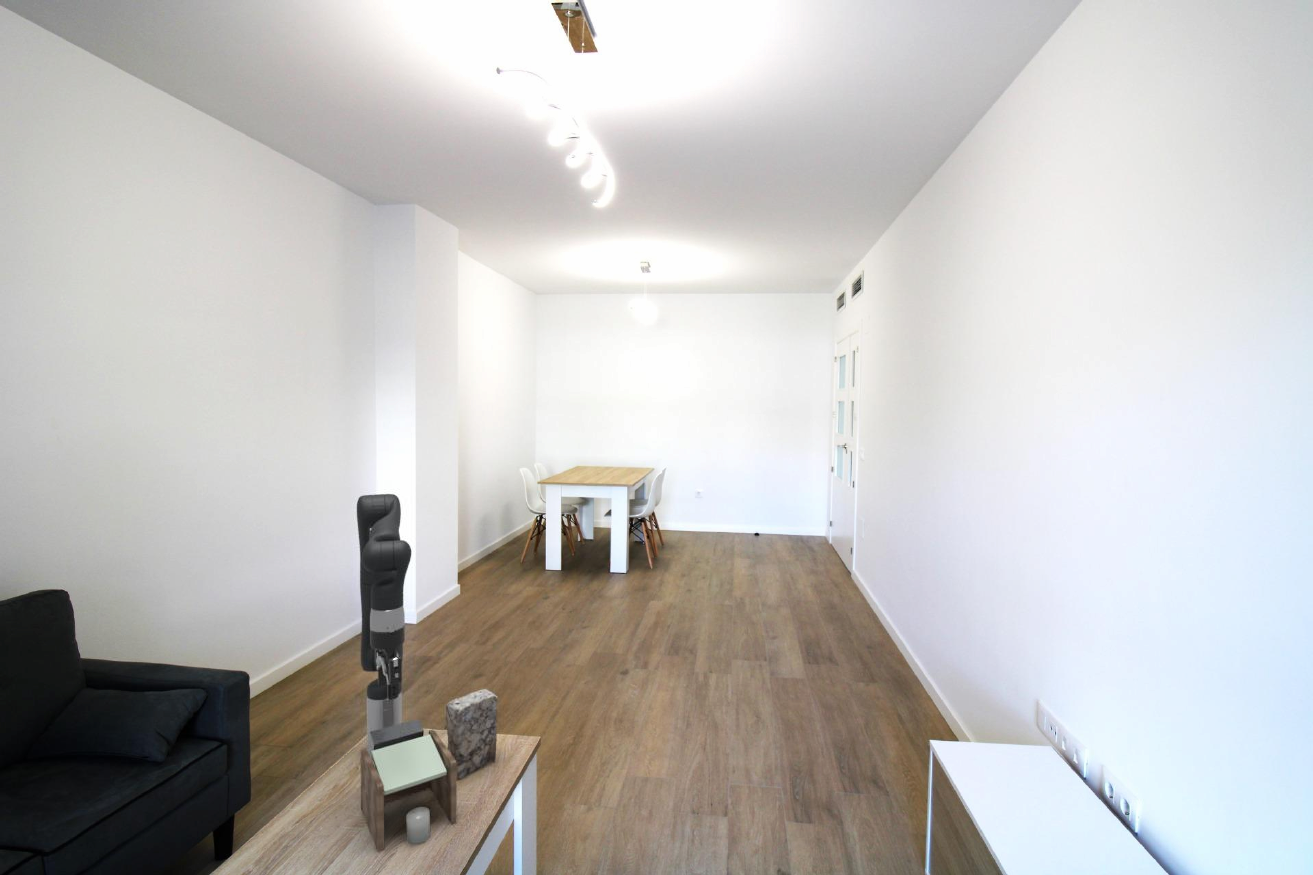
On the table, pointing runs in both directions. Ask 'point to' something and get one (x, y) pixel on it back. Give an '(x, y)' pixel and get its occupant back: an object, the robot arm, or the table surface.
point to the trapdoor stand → (405, 791)
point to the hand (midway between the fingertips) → (387, 691)
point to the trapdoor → (405, 756)
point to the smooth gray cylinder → (418, 825)
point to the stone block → (472, 731)
